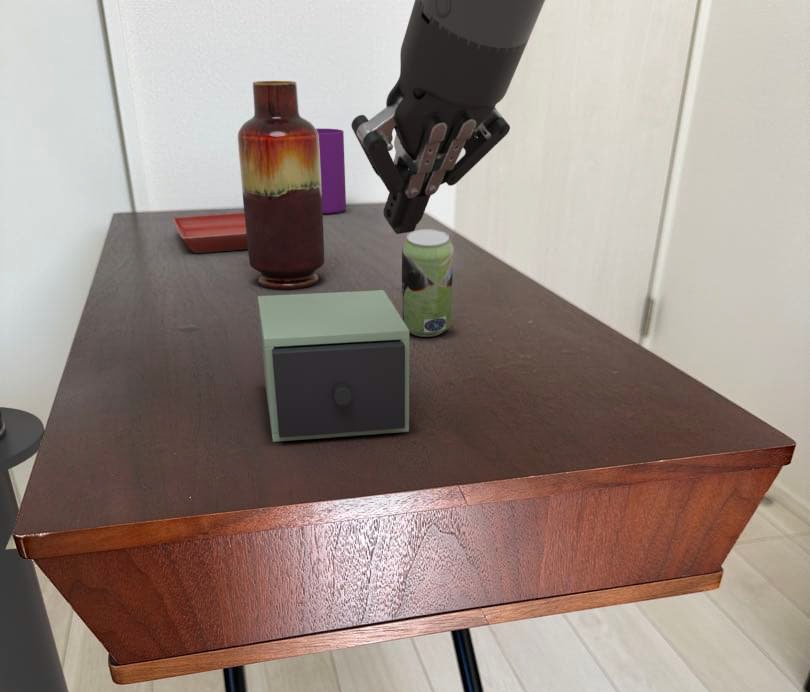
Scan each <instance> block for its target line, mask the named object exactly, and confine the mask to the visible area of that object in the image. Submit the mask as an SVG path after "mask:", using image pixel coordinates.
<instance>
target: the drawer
mask: <svg viewBox="0 0 810 692" xmlns="http://www.w3.org/2000/svg"><path fill="white" fill-rule="evenodd" d="M272 357H273V369H274V381H275V393H276V405H277V417H278V429H279V437H294V436H307V435H320V434H334V433H347V432H360V431H374V430H387V429H400V428H405V345H404V343H403V342H402V341H399V342H392V340H386V341H369V342H352V343H335V344H317V345H300V346H283V347H276V349H272Z"/></svg>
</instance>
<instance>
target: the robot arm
mask: <svg viewBox="0 0 810 692" xmlns="http://www.w3.org/2000/svg"><path fill="white" fill-rule="evenodd" d="M545 2H546V0H414V3H413V6H412V9H411V13H410V17H409V20H408V23H407V26H406V30H405V33H404V37H403V40H402V42H401V45H400V52H399V53H400V68H399V69H400V72H399V77H398V79H397V81H396V83H395V84H394V85H393V87H392V88H391V90H390V91H389V92H388V95H387V97H386V101H385V108H383V109H382V110H381V111H379V112H378V113H377V114H375V115H374V116H373V117H371V118H370V119H369V118H368V117H367V116H366V115H365V114H360V115H357V116H356V117H354V118H353V119H352V121H351V124H350V125H351V130H352V132H353V133H354V135H355V137H356V139H357V141H358V143H359V145H360V147H361V149H362V150H363V152H364V155H365V156H366V158H367V160H368V162H369V164H370V166H371V168H372V170H373V171H374V173H375V174H376V176H377V177H379V179H380V180H381V181H382V183H383V185H384V186H385V188H386V190H387V192H388V196H387V199H386V201H385V205H384V208H383V210H382V211H383V217H384V218H385V220H386V222H387V223H388V225H389V226H390V228H391V229H392V230H393V232H394V233H395V234H396V235H401V234H406V233H411V232H413V231H416V227H417V225H419V223H420V222H421V220H422V219H423V216H424V214H425V211H426V208H427V206H428V204H429V201H430V199H431V196H432V195H434V194H436V193H437V192H438V190H439V188H440V186H441V185H443V184H445V183H446V184H447V186H450V187H452V186H454V185H456V184H457V183H459V181H461V179H463V177H465V176H466V175H467V174H468V173H469V172H470V171H471V170H472V169H473V168H474V167H475V166H476V165H477V164H478V163H479V162H480V161H481V160H482V159H483V158H484V157H485V156H486V155H487V154H489V153H490V152H491V150H493V149H494V148H495V147H496V146H497V145H498V144H499V143H500V142H501V141H502V140H503V139H504V138H505V137H507V135H508V134H509V132H510V130H511V126H510V124H509V123H508V121H506V119H505V118H504V117H503V116H502V114H501V113H500V112H499V110H498V109H497V108H496V105H498V104H499V103H500V102H501V101H502V100H503V99H504V98H505V96H506V95H507V92H508V90H509V88H510V85H511V82H512V81H513V78H514V75H515V73H516V71H517V68H518V66H519V63H520V62H521V59H522V57H523V54H524V53H525V50H526V47H527V45H528V42H529V40H530V38H531V35H532V33H533V31H534V28H535V25H536V23H537V21H538V19H539V16H540V14H541V12H542V9H543V6H544V4H545ZM394 131H395V137H394V141H393V132H394ZM392 142H393V143H392ZM393 149H394V150H395V155H394V159H393V157H392V156H391V154H390V152H391V151H392V150H393ZM462 150H464V155H463V156H462V157H460V155H461V153H462ZM459 158H460V159H459ZM458 159H459V160H458ZM1 416H2V415H1V411H0V440H1V439H2V438H3V437H4V436H5V434H6V427H5V424H4V421H3V420H2V417H1Z"/></svg>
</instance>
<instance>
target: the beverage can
mask: <svg viewBox="0 0 810 692" xmlns="http://www.w3.org/2000/svg"><path fill="white" fill-rule="evenodd" d="M454 251H455V250H454V246H453V243H452V242H451V240H450V235H449V234H448V233H446V232H444V231H442V230H439V229H430V228H423V229H417V230H416V229H415V230H414V231H413V232H408V234H407V235H406V240H405V241H404V242H403V245H402V247H401V318H402V320H403V321H404V323H405V325H406V326H407V328H408V329H409V334H412V335H413V336H417V337H421V338H422V337H423V338H424V337H425V338H429V337H436V336H439V335H440V334H442V333H443V332H445V331H447V330H448V329H449V328H450V326H451V321H452V320H451V319H452V298H453V297H452V295H453V274H454V273H453V272H454V255H455V254H454Z"/></svg>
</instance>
